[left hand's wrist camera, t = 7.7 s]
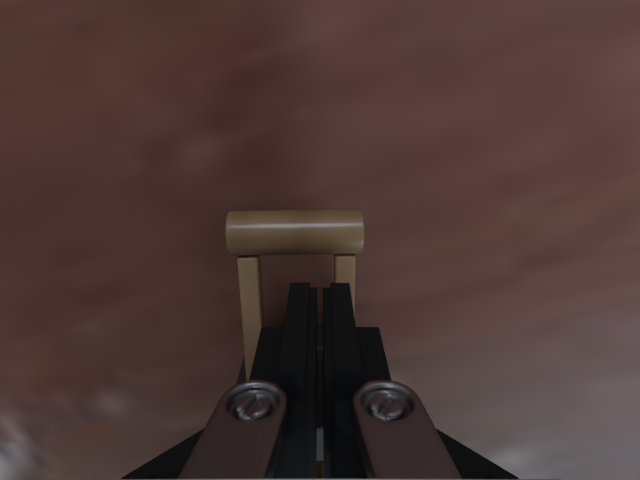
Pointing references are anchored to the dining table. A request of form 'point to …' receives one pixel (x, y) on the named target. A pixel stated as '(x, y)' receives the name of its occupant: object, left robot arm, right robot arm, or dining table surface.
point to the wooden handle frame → (290, 239)
